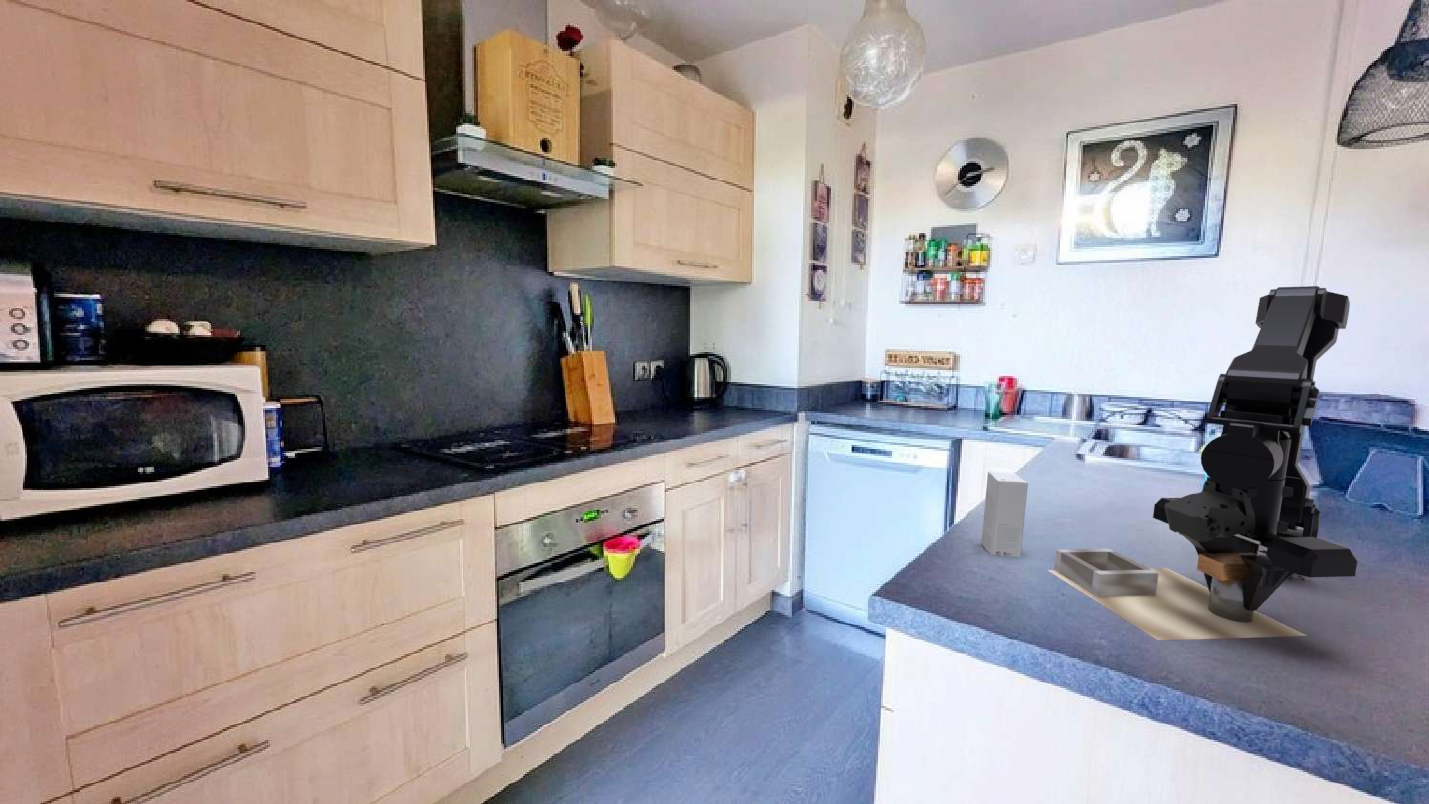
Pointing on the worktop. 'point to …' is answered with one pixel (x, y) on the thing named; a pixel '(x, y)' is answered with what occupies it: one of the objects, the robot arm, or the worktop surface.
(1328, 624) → the worktop surface
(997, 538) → the skincare box
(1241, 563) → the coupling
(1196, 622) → the base
